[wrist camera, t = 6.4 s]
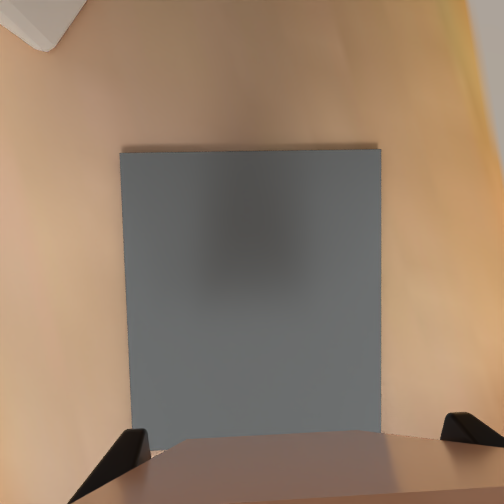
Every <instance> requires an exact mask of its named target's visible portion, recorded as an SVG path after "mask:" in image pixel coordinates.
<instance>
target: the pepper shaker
mask: <svg viewBox="0 0 504 504" xmlns="http://www.w3.org/2000/svg"><path fill="white" fill-rule="evenodd" d="M86 1H87V0H0V24H1V25H2V26H4V27H5V28H7V29H8V30H9V31H11V32H12V33H13V34H15V35H16V36H18V37H19V38H20V39H22V40H23V41H24V42H26V43H27V44H29V45H30V46H31V47H33V48H34V49H37V50H41V51H45V52H49V51H50V50H52V49H53V48H55V46H56V45H57V43H58V42H59V41H60V39H61V38H62V36H63V35H64V33H65V32H66V30H67V29H68V28H69V26H70V25H71V23H72V22H73V20H74V19H75V17H76V16H77V14H78V13H79V12H80V10H81V9H82V7H83V6H84V4H85V3H86Z"/></svg>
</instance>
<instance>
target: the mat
mask: <svg viewBox="0 0 504 504" xmlns="http://www.w3.org/2000/svg"><path fill="white" fill-rule="evenodd" d="M120 173H121V194H122V216H123V238H124V260H125V282H126V303H127V325H128V347H129V369H130V391H131V412H132V429H138V428H144V429H146V430H147V432H148V439H149V446H150V451H154V450H168V449H170V448H171V447H173V446H175V445H177V444H179V443H180V442H182V441H184V440H186V439H197V438H216V437H235V436H254V435H273V434H292V433H310V432H329V431H348V430H361V431H369V432H377V433H381V149H369V150H299V151H229V152H159V153H120Z"/></svg>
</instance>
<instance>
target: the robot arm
mask: <svg viewBox="0 0 504 504" xmlns="http://www.w3.org/2000/svg"><path fill="white" fill-rule="evenodd" d="M440 440H443V441H451V442H460V443H468V444H476V445H484V446H493V447H501V448H504V437H503V436H501V435H500V434H498V433H497V432H496V431H494V430H493V429H491V428H490V427H488V426H487V425H486V424H484V423H483V422H481V421H480V420H479V419H477V418H476V417H474V416H473V415H472V414H470V413H467V412H455V413H448V414H447V415H446V417H445V421H444V425H443V429H442V433H441V437H440ZM150 459H151V454H150V446H149V439H148V432H147V430H146V429H144V428H138V429H127V430H125V431H124V432H123V433H122V434H121V436H120V437H119V438H118V439H117V441H116V442H115V443H114V444H113V446H112V447H111V448H110V450H109V451H108V452H107V453H106V455H105V456H104V457H103V459H102V460H101V461H100V462H99V464H98V465H97V466H96V467H95V469H94V470H93V471H92V473H91V474H90V475H89V476H88V478H87V479H86V480H85V482H84V483H83V484H82V485H81V487H80V488H79V489H78V490H77V492H76V493H75V494H74V496H73V497H72V498H71V499H70V501H69V502H68V503H67V504H71V503H73V502H75V501H77V500H78V499H80V498H82V497H84V496H85V495H87V494H89V493H91V492H93V491H94V490H96V489H98V488H100V487H102V486H103V485H105V484H107V483H109V482H111V481H112V480H114V479H116V478H118V477H120V476H121V475H123V474H125V473H127V472H128V471H130V470H132V469H134V468H136V467H137V466H139V465H141V464H143V463H145V462H146V461H148V460H150Z"/></svg>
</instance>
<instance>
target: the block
mask: <svg viewBox="0 0 504 504" xmlns="http://www.w3.org/2000/svg"><path fill="white" fill-rule="evenodd" d="M71 504H504V448H501V447H493V446H484V445H476V444H468V443H460V442H451V441H443V440H435V439H427V438H418V437H410V436H402V435H394V434H386V433H377V432H369V431H361V430H348V431H329V432H310V433H292V434H273V435H254V436H235V437H216V438H197V439H186V440H184V441H182V442H180V443H179V444H177V445H175V446H173V447H171V448H170V449H168V450H166V451H164V452H163V453H161V454H159V455H157V456H155V457H154V458H152V459H150V460H148V461H146V462H145V463H143V464H141V465H139V466H137V467H136V468H134V469H132V470H130V471H128V472H127V473H125V474H123V475H121V476H120V477H118V478H116V479H114V480H112V481H111V482H109V483H107V484H105V485H103V486H102V487H100V488H98V489H96V490H94V491H93V492H91V493H89V494H87V495H85V496H84V497H82V498H80V499H78V500H77V501H75V502H73V503H71Z"/></svg>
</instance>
